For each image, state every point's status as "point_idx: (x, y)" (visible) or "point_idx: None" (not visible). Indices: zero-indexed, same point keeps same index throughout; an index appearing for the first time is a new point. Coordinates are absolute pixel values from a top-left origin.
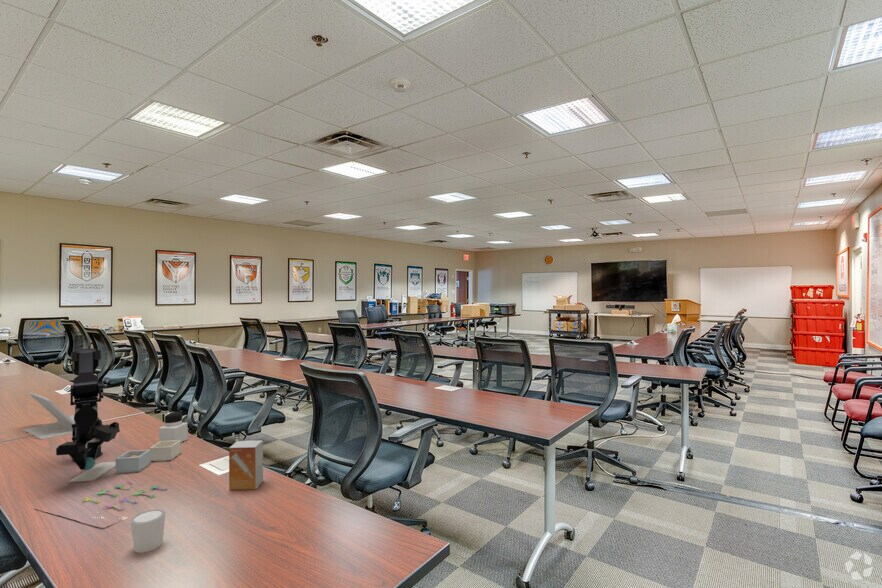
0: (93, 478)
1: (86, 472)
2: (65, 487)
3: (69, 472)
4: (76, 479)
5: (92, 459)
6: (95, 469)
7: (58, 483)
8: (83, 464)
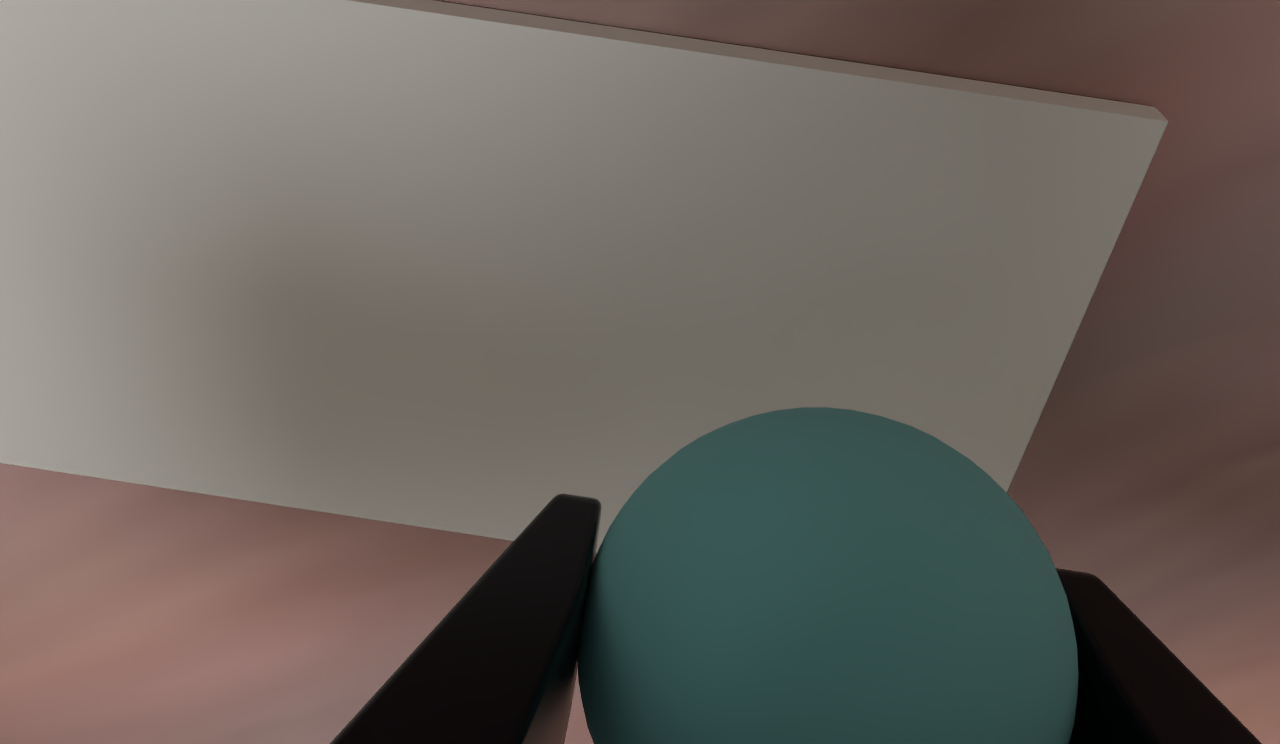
0: (1059, 147)
1: (481, 482)
2: (1269, 547)
3: None
4: None
5: (873, 644)
6: (306, 372)
7: None
8: (1238, 734)
